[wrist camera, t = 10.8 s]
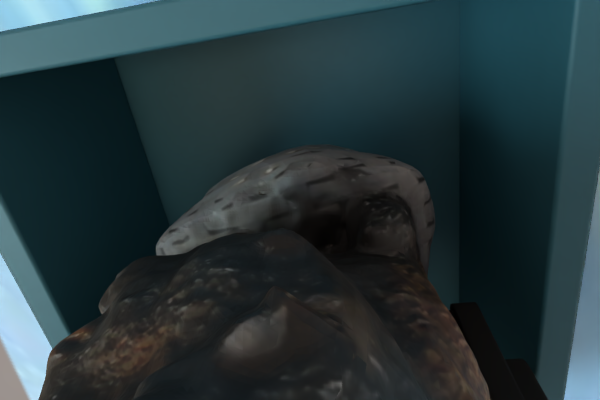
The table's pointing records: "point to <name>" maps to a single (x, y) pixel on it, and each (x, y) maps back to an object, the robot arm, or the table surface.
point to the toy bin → (310, 139)
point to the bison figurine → (281, 295)
